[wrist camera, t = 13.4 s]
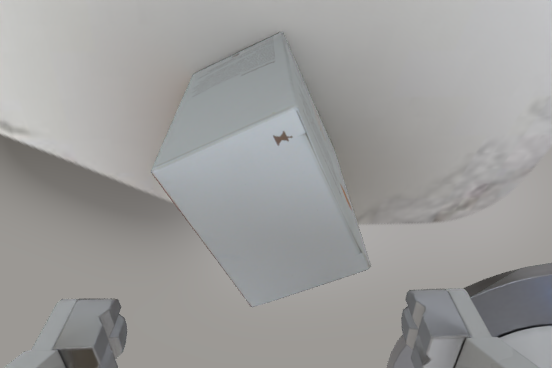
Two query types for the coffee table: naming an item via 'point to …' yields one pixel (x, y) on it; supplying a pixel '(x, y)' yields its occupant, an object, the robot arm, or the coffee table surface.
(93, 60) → the coffee table surface
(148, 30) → the coffee table surface
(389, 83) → the coffee table surface
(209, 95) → the small box
